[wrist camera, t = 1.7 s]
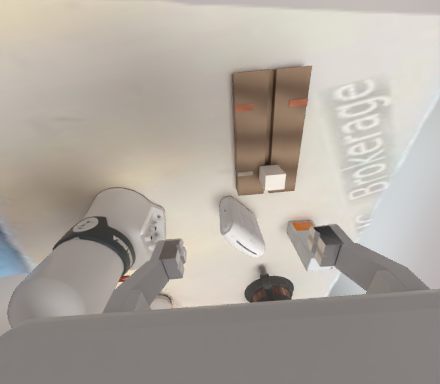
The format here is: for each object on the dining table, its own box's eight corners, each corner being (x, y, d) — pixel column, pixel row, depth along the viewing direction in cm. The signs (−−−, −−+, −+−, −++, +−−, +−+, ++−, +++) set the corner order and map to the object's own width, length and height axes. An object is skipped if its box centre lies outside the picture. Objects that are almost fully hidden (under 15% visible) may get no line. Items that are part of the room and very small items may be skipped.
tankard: (296, 300, 64) (327, 377, 46) (250, 309, 66) (264, 387, 48) (288, 257, 53) (326, 338, 35) (233, 270, 55) (244, 353, 37)
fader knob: (273, 175, 37) (284, 189, 32) (257, 176, 37) (264, 190, 32) (274, 161, 36) (286, 173, 30) (257, 163, 36) (265, 175, 30)
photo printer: (216, 204, 43) (217, 242, 32) (228, 192, 41) (234, 228, 30) (245, 226, 46) (255, 266, 35) (257, 216, 45) (272, 255, 34)
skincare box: (311, 219, 46) (341, 257, 36) (308, 232, 48) (334, 271, 38) (288, 220, 46) (311, 258, 35) (285, 233, 48) (306, 272, 37)
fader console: (288, 184, 41) (294, 191, 38) (236, 189, 41) (238, 196, 38) (303, 67, 30) (312, 65, 27) (232, 74, 30) (234, 72, 27)
